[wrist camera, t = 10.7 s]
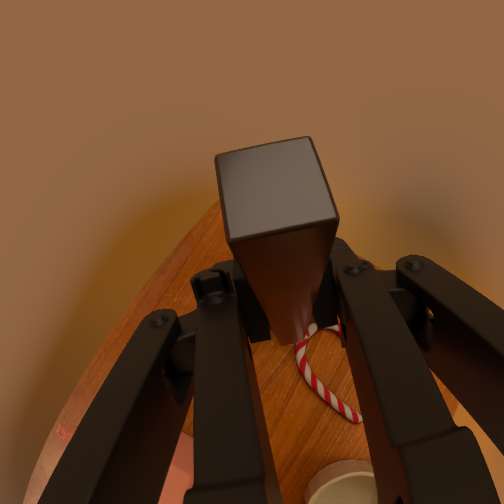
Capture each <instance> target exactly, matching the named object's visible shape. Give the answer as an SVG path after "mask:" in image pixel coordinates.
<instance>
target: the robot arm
mask: <svg viewBox="0 0 504 504" xmlns="http://www.w3.org/2000/svg"><path fill="white" fill-rule="evenodd" d="M190 283H191V286H192V289H193V292H194V295H195V298H196V300H197V309H196V310H194V311H192V312H190V313H188V314H185V315H183V316H180V317H177V314H176V312H175V311H174V310H172V309H161V310H156V311H153V312H151V313H150V314H149V315H147V316H146V317H145V318H144V319H143V320H142V321H141V323H140V324H139V326H138V328H137V329H136V331H135V332H134V334H133V335H132V337H131V339H130V340H129V342H128V343H127V345H126V347H125V348H124V350H123V351H122V353H121V355H120V356H119V358H118V359H117V361H116V363H115V364H114V366H113V368H112V369H111V371H110V373H109V374H108V376H107V378H106V379H105V381H104V383H103V384H102V386H101V388H100V389H99V391H98V393H97V394H96V396H95V398H94V399H93V401H92V403H91V405H90V406H89V408H88V410H87V412H86V413H85V415H84V417H83V419H82V420H81V422H80V424H79V426H78V427H77V429H76V431H75V433H74V435H73V436H72V438H71V440H70V442H69V444H68V445H67V447H66V449H65V451H64V453H63V455H62V456H61V458H60V460H59V462H58V464H57V466H56V468H55V470H54V472H53V473H52V475H51V477H50V479H49V481H48V483H47V485H46V487H45V489H44V491H43V493H42V495H41V497H40V499H39V501H38V503H37V504H158V502H159V499H160V496H161V493H162V490H163V487H164V483H165V480H166V477H167V474H168V471H169V468H170V465H171V462H172V459H173V455H174V452H175V449H176V446H177V443H178V440H179V437H180V434H181V431H182V428H183V425H184V422H185V419H186V416H187V413H188V409H189V406H190V403H191V400H192V397H193V394H194V412H193V462H194V482H193V486H192V488H190V489H188V490H186V492H185V494H184V498H183V504H283V502H282V497H281V493H280V488H279V484H278V479H277V474H276V470H275V465H274V460H273V455H272V451H271V446H270V441H269V436H268V431H267V427H266V422H265V417H264V412H263V407H262V402H261V397H260V392H259V387H258V382H257V377H256V372H255V367H254V362H253V356H252V351H251V348H250V344H249V341H248V336H249V339H250V343H256V342H261V341H266V340H271V335H270V328H269V322H268V320H267V318H266V316H265V315H264V313H263V311H262V309H261V307H260V305H259V304H258V302H257V300H256V298H255V296H254V294H253V292H252V290H251V288H250V286H249V284H248V283H247V281H246V279H245V277H244V275H243V273H242V271H241V269H240V267H239V265H238V263H237V261H236V259H235V257H234V259H233V260H228V261H224V262H219V263H216V264H215V265H214V266H213V267H212V268H209V269H206V270H203V271H201V272H199V273H197V274H195V275H194V276H193V277H192V278H191V280H190ZM429 309H430V310H431V311H432V313H433V316H432V315H431V314H430V313H429ZM337 314H338V317H339V319H340V326H341V340H342V348H343V347H345V349H346V353H347V357H348V361H349V364H350V368H351V372H352V376H353V380H354V385H355V389H356V393H357V397H358V401H359V406H360V410H361V414H362V419H363V423H364V428H365V433H366V437H367V442H368V447H369V452H370V457H371V462H372V467H373V472H374V478H375V483H376V489H377V497H378V504H501V503H500V500H499V497H498V494H497V491H496V488H495V485H494V483H493V480H492V477H491V474H490V472H489V469H488V467H487V464H486V461H485V459H484V457H483V454H482V452H481V449H480V447H479V444H478V442H477V440H476V437H475V436H474V435H473V432H472V431H471V430H470V429H469V428H468V427H466V426H461V427H458V426H457V425H456V424H455V423H454V421H453V419H452V416H451V414H450V412H449V410H448V407H447V405H446V403H445V401H444V398H443V396H442V394H441V392H440V390H439V388H438V385H437V383H436V381H435V379H434V377H433V375H432V373H431V371H430V369H431V370H432V371H433V372H434V373H435V375H436V376H437V377H438V378H439V379H440V380H441V381H442V383H443V384H444V385H445V386H446V387H447V388H448V389H449V391H450V392H451V393H452V394H453V395H454V396H455V397H456V399H457V400H458V401H459V402H460V403H461V404H462V406H463V407H464V408H465V409H466V410H467V412H468V413H469V414H470V415H471V416H472V417H473V419H474V420H475V421H476V422H477V423H478V425H479V426H480V427H481V428H482V429H483V431H484V432H485V433H486V434H487V436H488V437H489V438H490V439H491V440H492V442H493V443H494V444H495V446H496V447H497V448H498V449H499V451H500V452H501V453H502V454H503V456H504V310H503V309H501V308H500V307H499V306H497V305H496V304H495V303H493V302H492V301H490V300H489V299H488V298H486V297H485V296H483V295H482V294H481V293H479V292H478V291H476V290H475V289H473V288H472V287H471V286H469V285H468V284H466V283H465V282H463V281H462V280H460V279H459V278H457V277H456V276H454V275H453V274H451V273H450V272H448V271H447V270H445V269H444V268H442V267H441V266H439V265H437V264H436V263H434V262H433V261H431V260H430V259H428V258H426V257H423V256H418V255H409V256H406V257H403V258H400V259H399V260H398V261H397V262H396V270H388V271H378V270H375V268H374V266H373V265H372V264H371V263H370V262H368V261H366V260H360V259H358V257H357V256H356V255H355V254H354V252H353V251H352V250H351V249H350V248H349V246H348V245H347V244H346V242H345V241H344V240H342V239H340V238H338V237H335V240H334V243H333V247H332V251H331V254H330V258H329V261H328V265H327V268H326V272H325V275H324V278H323V282H322V285H321V288H320V292H319V295H318V298H317V302H316V305H315V308H314V311H313V316H314V319H315V321H316V324H317V327H318V329H323V328H327V327H331V326H335V325H338V318H337ZM429 368H430V369H429Z"/></svg>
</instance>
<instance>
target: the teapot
mask: <svg viewBox="0 0 504 504" xmlns="http://www.w3.org/2000/svg"><path fill="white" fill-rule="evenodd" d="M76 429H77V427H76V426H67V425H58V429H57V432H56V433H57V434H58V435H59V436H60V438H61V439H62V440H63V441H67V442H70V440H71V438H72V436H73V435H74V433H75V431H76ZM193 482H194V462H193V437H191V436H189V435H188V434H186V433H184V432H182V431H181V434H180V437H179V440H178V443H177V446H176V449H175V452H174V455H173V459H172V462H171V465H170V468H169V471H168V474H167V477H166V480H165V483H164V487H163V490H162V493H161V496H160V499H159V502H158V504H183V498H184V494H185V492H186V490H188V489H190V488H192V486H193Z"/></svg>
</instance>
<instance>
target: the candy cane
mask: <svg viewBox="0 0 504 504" xmlns="http://www.w3.org/2000/svg"><path fill="white" fill-rule="evenodd" d="M327 328H328V329H333V330H335V331H336V332H338V334H339V335H340V337H341V326H340V323H338V325H335V326H331V327H327ZM323 329H325V328H323ZM318 330H320V329H318V327H317V324H316V321H315V322H313V323H311V324H309V327H308V330H307V333H306V336H305V339H304V341H303V342H298V343H296V360H297V364H298V367H299V369H300V371H301V373H302V375H303V377H304V378H305V380H306V381H307V382H308V384H309V385H310V386H311V387H312V388H313V389H314V390H315V391H316V392H317V393H318V394H319V395H320V396H321V397H322V398H323V399H324V400H325V401H326V402H327V403H328V404H330V405H331V406H332V407H333V408H334V409H336V410H337V411H338V412H340V413H341V414H342V415H344V416H345V417H346V418H348V419H349V420H351V421H352V422H354V423H356V424H360V423H361V422H362V420H363V419H362V416H361V415H360V414H358V413H357V412H355V411H354V410H353V409H351V408H350V407H348V406H347V405H346V404H344V403H343V402H342V401H341V400H339V399H338V398H337V397H336V396H335V395H334V394H333V393H331V392H330V391H329V390H328V389H327V388H326V387H325V386H324V385H323V384H322V383H321V382H320V381H319V380H318V379H317V378H316V376H315V375H314V374H313V372H312V371H311V369H310V367H309V365H308V363H307V360H306V356H305V348H306V344H307V342H308V340H309V338H310V337H311V335H312V334H314V333H315V332H316V331H318Z"/></svg>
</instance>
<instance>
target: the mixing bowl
mask: <svg viewBox="0 0 504 504" xmlns="http://www.w3.org/2000/svg"><path fill="white" fill-rule="evenodd" d="M304 504H378V497H377V489H376V483H375V478H374V472H373V467H372V464H371V463H369V462H367V461H363V460H357V459H348V460H341V461H338V462H335V463H332V464H330V465H327V466H326V467H325V468H323V469H322V470H320V471H319V472H317V473H316V474H315V476H314V477H313V478H312V479H311V480H310V481H309V483H308V485H307V488H306V490H305V493H304Z"/></svg>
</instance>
